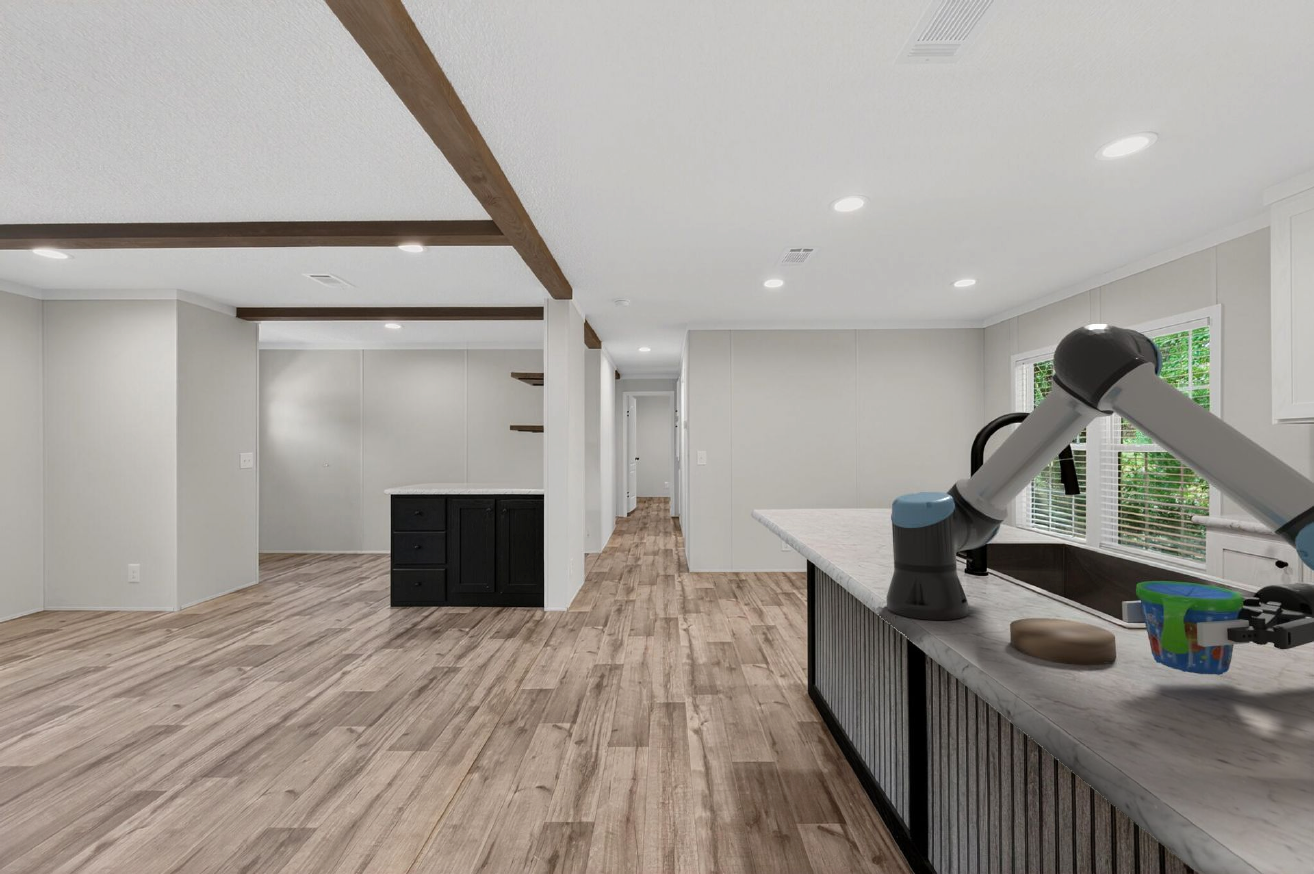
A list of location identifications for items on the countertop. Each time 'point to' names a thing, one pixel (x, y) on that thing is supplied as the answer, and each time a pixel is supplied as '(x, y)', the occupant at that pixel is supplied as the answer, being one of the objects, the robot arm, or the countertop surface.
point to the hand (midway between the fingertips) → (1160, 622)
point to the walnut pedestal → (1063, 641)
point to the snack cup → (1187, 623)
